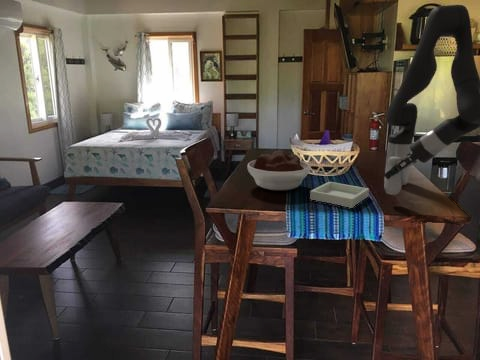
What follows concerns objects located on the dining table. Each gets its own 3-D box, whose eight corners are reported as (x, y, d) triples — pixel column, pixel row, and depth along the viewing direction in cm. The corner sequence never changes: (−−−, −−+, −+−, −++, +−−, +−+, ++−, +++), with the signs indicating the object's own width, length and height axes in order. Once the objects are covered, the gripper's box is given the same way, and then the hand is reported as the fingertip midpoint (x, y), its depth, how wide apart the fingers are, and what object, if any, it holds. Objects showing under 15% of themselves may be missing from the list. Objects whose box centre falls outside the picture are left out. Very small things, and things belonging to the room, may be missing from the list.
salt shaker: (401, 196, 139) (406, 159, 136) (384, 195, 140) (388, 158, 137) (399, 191, 145) (402, 155, 141) (382, 190, 146) (385, 154, 142)
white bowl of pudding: (318, 194, 154) (321, 156, 150) (255, 198, 149) (255, 158, 145) (297, 178, 178) (298, 144, 174) (241, 180, 173) (241, 146, 169)
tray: (328, 190, 160) (329, 181, 159) (368, 197, 151) (369, 188, 150) (309, 200, 148) (310, 190, 147) (351, 208, 139) (352, 199, 138)
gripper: (426, 134, 138) (386, 163, 148) (415, 139, 127) (373, 171, 138) (441, 151, 136) (400, 180, 147) (431, 158, 126) (388, 189, 136)
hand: (387, 175), depth 142 cm, fingers closed on salt shaker, 3 cm apart
